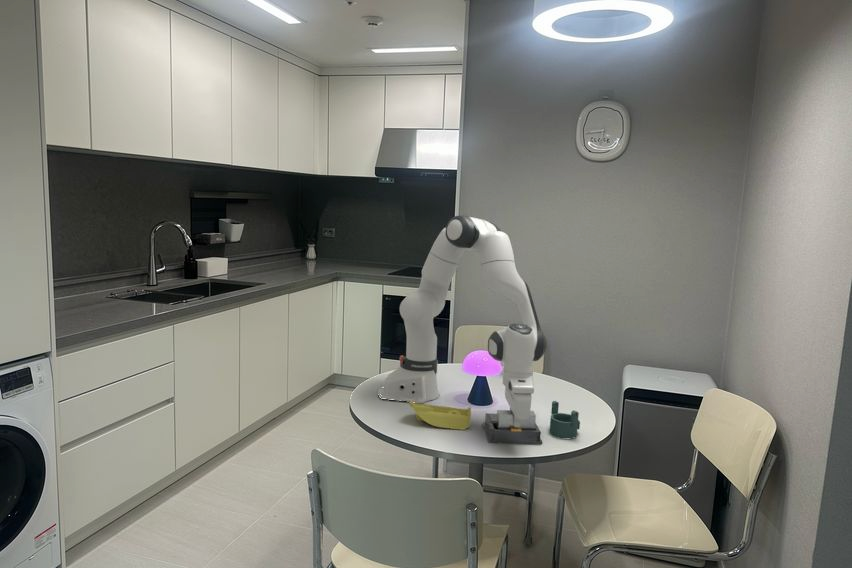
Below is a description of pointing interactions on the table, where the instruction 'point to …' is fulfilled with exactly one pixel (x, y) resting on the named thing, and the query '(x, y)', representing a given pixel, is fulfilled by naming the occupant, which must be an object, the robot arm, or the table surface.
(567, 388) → the table surface
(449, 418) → the plastic component
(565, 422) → the bracket
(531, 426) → the gray metallic block
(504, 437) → the grey flat box
